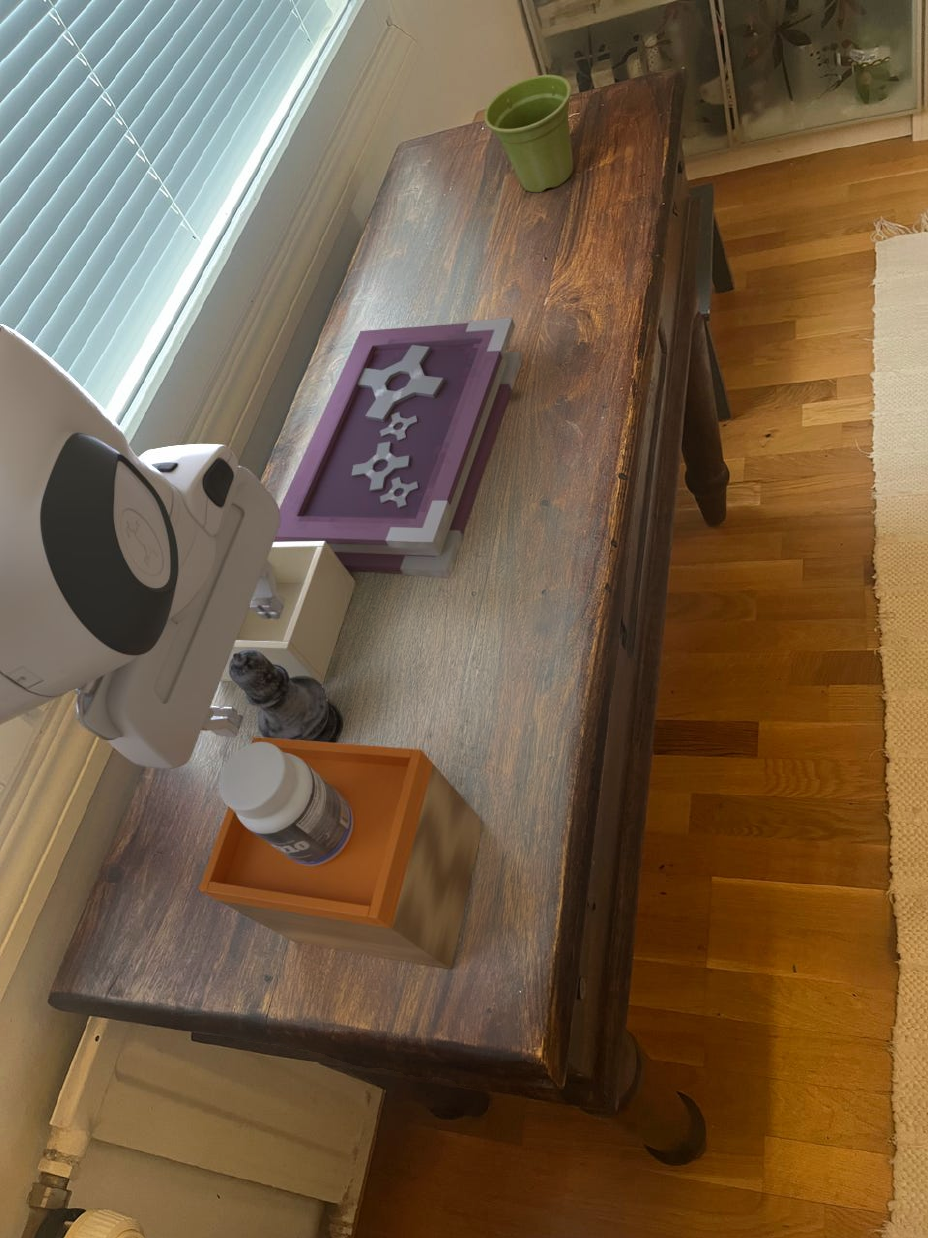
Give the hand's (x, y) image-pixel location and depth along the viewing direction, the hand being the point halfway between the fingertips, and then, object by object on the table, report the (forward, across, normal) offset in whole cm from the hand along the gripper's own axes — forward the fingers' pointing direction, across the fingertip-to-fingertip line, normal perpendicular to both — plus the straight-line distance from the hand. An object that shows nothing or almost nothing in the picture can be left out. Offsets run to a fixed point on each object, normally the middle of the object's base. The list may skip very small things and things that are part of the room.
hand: (254, 667), depth 66 cm
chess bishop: (+10, 0, 0) cm, 10 cm away
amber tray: (0, -11, -10) cm, 15 cm away
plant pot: (+11, +69, -7) cm, 70 cm away
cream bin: (+10, +9, +6) cm, 14 cm away
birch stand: (+10, -11, -10) cm, 18 cm away
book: (+10, +27, -1) cm, 29 cm away
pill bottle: (-1, -11, -10) cm, 15 cm away
